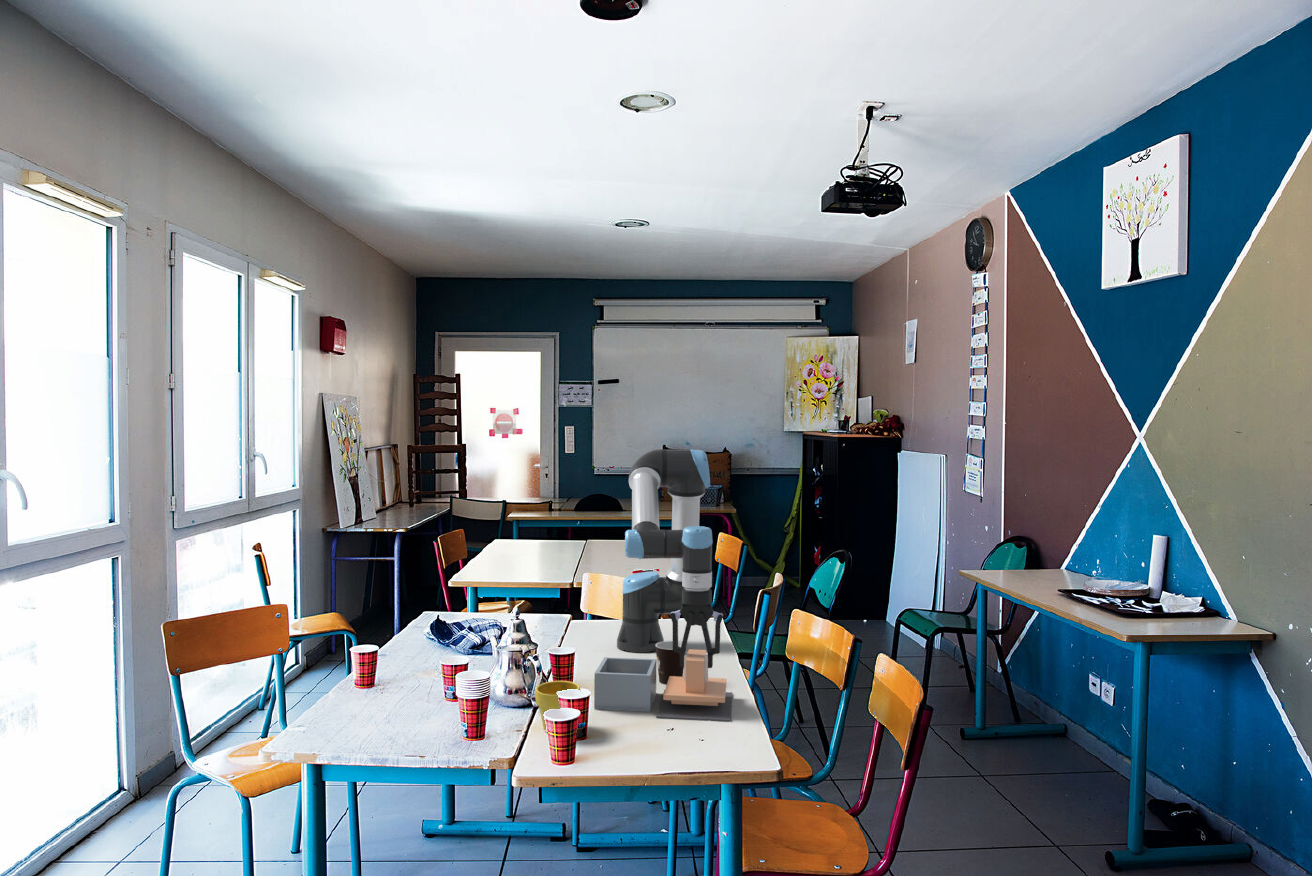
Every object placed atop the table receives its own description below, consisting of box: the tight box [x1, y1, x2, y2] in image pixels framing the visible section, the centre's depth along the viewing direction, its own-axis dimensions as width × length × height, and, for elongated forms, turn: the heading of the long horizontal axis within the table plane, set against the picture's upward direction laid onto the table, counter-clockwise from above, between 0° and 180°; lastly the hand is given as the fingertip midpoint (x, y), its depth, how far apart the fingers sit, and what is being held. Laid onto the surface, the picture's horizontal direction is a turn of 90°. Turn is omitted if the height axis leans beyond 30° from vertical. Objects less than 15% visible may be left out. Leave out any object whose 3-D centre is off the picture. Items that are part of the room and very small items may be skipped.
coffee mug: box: [655, 640, 687, 685], centre depth 224 cm, size 12×9×10 cm
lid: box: [662, 648, 727, 706], centre depth 203 cm, size 15×15×11 cm
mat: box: [655, 688, 733, 722], centre depth 204 cm, size 20×18×1 cm
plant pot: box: [535, 680, 581, 730], centre depth 187 cm, size 10×10×10 cm
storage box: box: [593, 656, 657, 713], centre depth 206 cm, size 14×14×9 cm
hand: (696, 679), depth 203 cm, fingers closed on lid, 4 cm apart
